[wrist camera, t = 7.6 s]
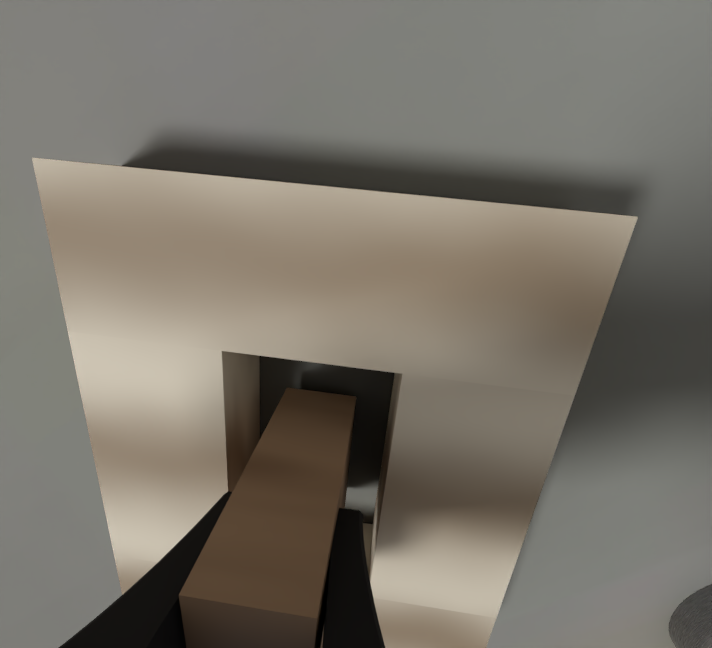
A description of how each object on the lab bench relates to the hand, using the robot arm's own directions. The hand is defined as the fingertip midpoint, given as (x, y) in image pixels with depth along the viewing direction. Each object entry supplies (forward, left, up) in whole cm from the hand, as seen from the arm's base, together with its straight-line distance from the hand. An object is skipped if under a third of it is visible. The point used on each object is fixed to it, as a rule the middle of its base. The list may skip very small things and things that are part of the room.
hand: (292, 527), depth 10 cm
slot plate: (0, 0, -4) cm, 4 cm away
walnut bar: (0, 0, -4) cm, 4 cm away
